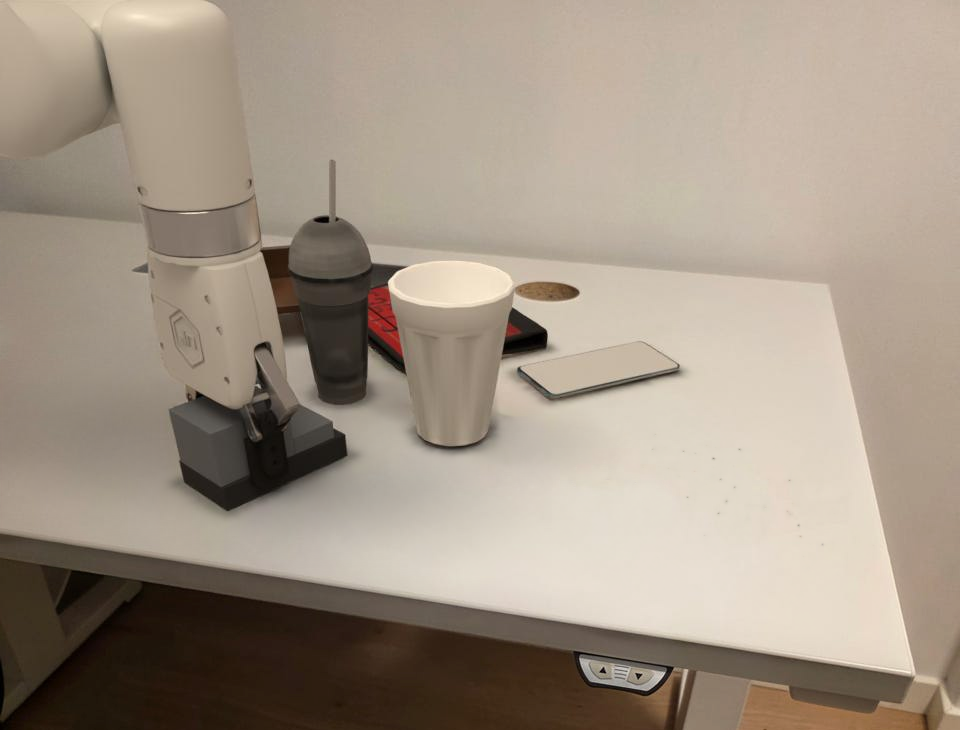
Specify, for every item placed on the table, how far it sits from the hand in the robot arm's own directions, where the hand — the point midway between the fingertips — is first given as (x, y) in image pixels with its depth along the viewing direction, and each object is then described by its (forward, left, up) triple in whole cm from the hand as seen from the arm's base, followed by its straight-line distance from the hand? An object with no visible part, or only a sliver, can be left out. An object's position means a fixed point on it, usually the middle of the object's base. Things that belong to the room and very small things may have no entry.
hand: (244, 461), depth 72 cm
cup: (+18, +3, -2) cm, 18 cm away
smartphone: (+35, +11, -2) cm, 37 cm away
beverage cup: (+10, +13, -2) cm, 17 cm away
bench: (+4, +30, -1) cm, 30 cm away
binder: (+22, +26, -2) cm, 34 cm away
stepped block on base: (+2, +1, -1) cm, 2 cm away
